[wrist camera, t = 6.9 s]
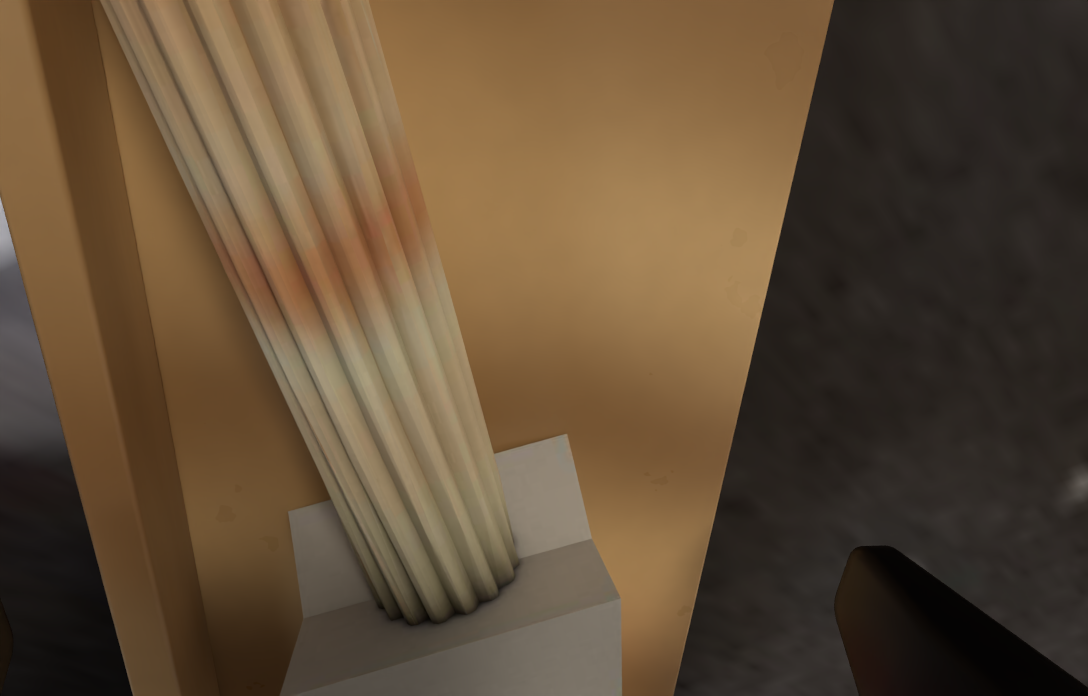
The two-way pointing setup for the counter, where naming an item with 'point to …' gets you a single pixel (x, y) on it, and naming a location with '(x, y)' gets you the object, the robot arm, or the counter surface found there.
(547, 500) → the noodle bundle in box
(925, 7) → the counter surface
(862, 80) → the counter surface
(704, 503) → the shelf
